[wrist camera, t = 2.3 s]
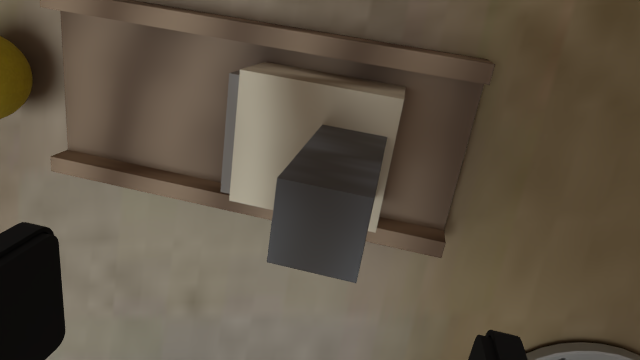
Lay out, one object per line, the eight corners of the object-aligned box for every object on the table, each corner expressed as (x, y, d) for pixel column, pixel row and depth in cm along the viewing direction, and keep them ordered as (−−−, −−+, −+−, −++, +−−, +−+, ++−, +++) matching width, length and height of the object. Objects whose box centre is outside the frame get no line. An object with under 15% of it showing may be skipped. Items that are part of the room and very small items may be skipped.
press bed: (486, 59, 25) (495, 64, 23) (438, 236, 29) (441, 258, 27) (73, -10, 28) (39, -12, 26) (80, 158, 32) (51, 170, 30)
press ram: (405, 86, 25) (398, 143, 14) (380, 203, 28) (358, 330, 16) (254, 60, 26) (136, 93, 15) (243, 174, 29) (135, 275, 18)
